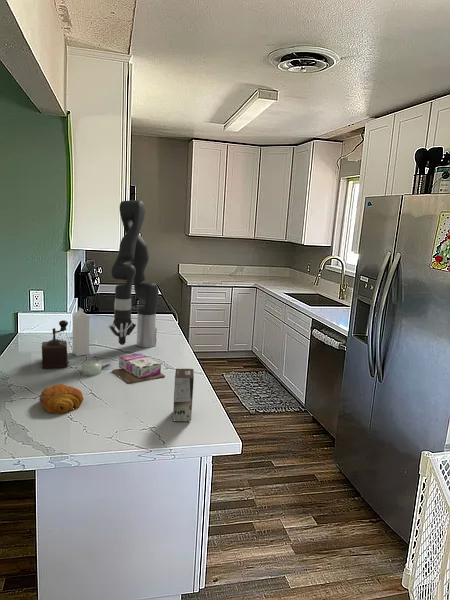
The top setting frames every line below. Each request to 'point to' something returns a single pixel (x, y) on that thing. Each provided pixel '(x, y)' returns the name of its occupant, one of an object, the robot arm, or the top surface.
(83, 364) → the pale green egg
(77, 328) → the milk
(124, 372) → the display board
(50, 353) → the coffee grinder
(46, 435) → the top surface
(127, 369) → the candy bar box
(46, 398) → the croissant
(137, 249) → the robot arm
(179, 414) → the coffee box
